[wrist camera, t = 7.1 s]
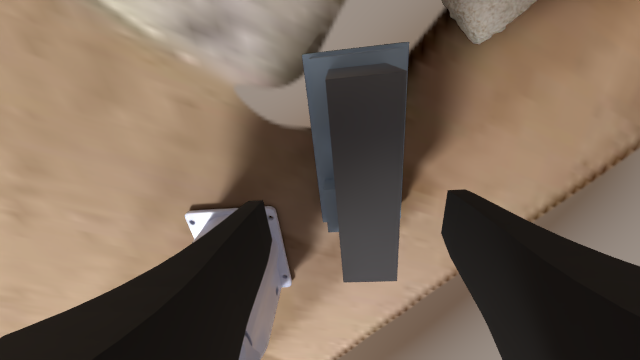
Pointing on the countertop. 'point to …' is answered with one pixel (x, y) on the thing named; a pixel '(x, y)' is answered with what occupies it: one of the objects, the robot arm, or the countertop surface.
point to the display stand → (318, 109)
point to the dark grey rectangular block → (367, 166)
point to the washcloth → (485, 15)
